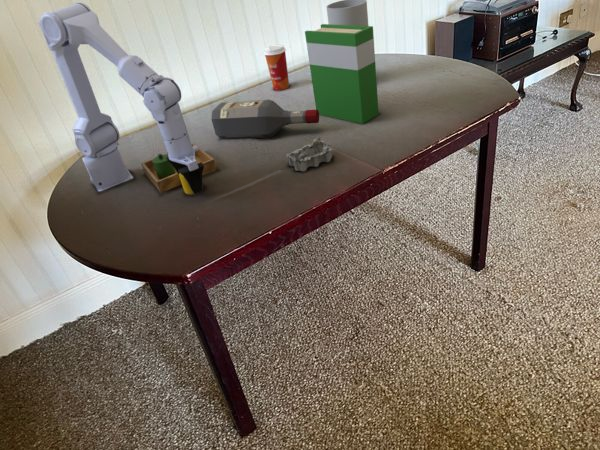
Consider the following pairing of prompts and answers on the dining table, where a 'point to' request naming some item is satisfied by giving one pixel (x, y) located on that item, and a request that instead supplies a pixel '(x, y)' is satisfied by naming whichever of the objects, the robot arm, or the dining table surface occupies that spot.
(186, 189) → the yellow pepper
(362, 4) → the cylinder vase
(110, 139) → the robot arm
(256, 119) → the liquor
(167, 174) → the green pepper
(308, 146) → the egg carton
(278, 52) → the paper cup
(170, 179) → the wooden tray
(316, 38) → the hardback book
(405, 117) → the dining table surface
